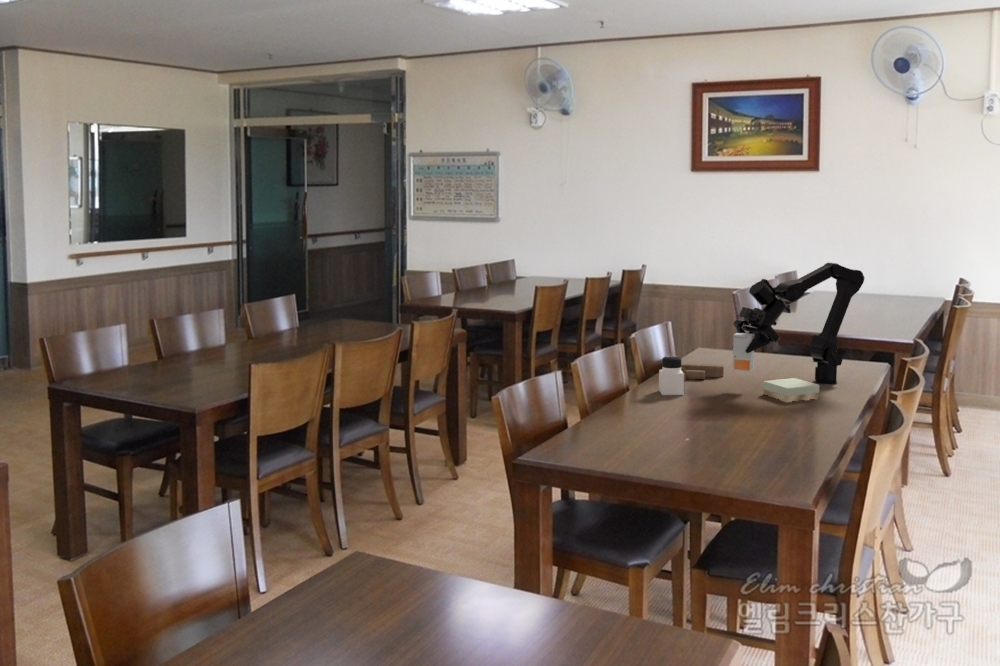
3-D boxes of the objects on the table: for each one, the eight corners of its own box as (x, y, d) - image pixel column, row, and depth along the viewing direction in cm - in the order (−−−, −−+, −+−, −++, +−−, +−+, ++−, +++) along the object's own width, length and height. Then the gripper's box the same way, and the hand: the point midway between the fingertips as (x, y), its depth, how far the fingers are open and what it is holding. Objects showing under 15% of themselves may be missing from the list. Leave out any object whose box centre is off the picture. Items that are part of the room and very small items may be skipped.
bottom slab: (795, 393, 305) (795, 385, 305) (818, 401, 294) (819, 393, 294) (763, 396, 301) (763, 388, 301) (786, 404, 290) (786, 396, 290)
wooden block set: (671, 359, 335) (723, 361, 330) (671, 374, 336) (723, 377, 331) (667, 368, 319) (721, 370, 314) (666, 384, 320) (721, 386, 315)
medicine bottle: (684, 395, 302) (684, 358, 300) (662, 395, 302) (662, 358, 300) (680, 390, 309) (681, 354, 307) (658, 390, 309) (659, 354, 307)
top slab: (794, 385, 305) (794, 377, 305) (819, 392, 294) (819, 384, 294) (763, 388, 301) (763, 381, 301) (787, 396, 290) (788, 388, 290)
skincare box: (732, 370, 306) (732, 334, 305) (735, 368, 310) (736, 332, 308) (751, 372, 304) (751, 335, 302) (754, 369, 307) (754, 333, 305)
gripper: (738, 295, 313) (709, 330, 311) (772, 301, 296) (741, 338, 294) (758, 316, 317) (729, 351, 315) (792, 324, 300) (762, 361, 298)
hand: (739, 350), depth 305 cm, fingers closed on skincare box, 7 cm apart
